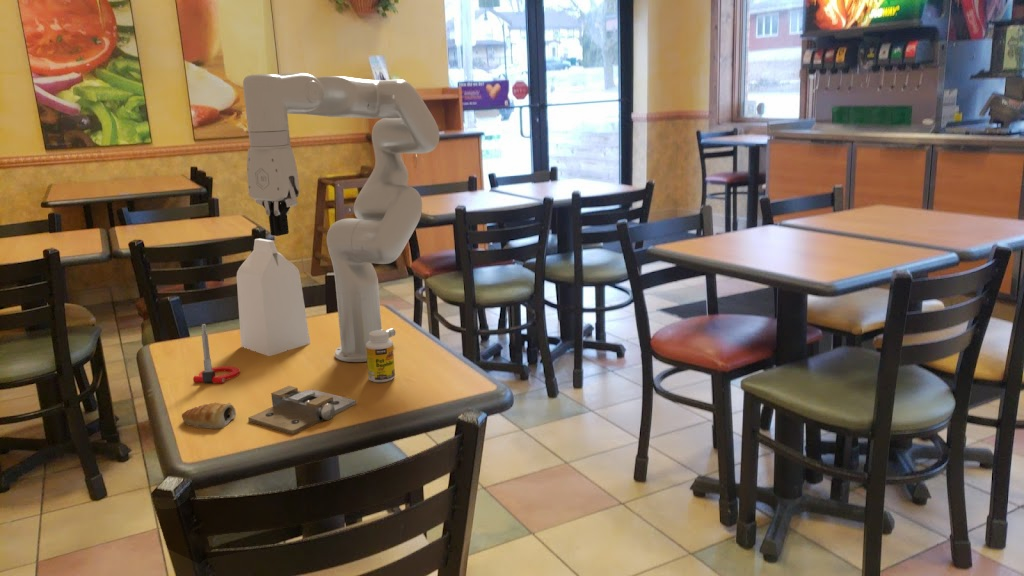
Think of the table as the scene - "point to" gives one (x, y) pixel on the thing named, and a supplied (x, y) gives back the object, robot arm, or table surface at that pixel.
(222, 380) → the tow hook
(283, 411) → the hinge leaves
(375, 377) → the supplement bottle
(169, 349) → the table surface
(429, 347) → the table surface
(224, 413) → the pastry
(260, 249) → the milk
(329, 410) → the pin
